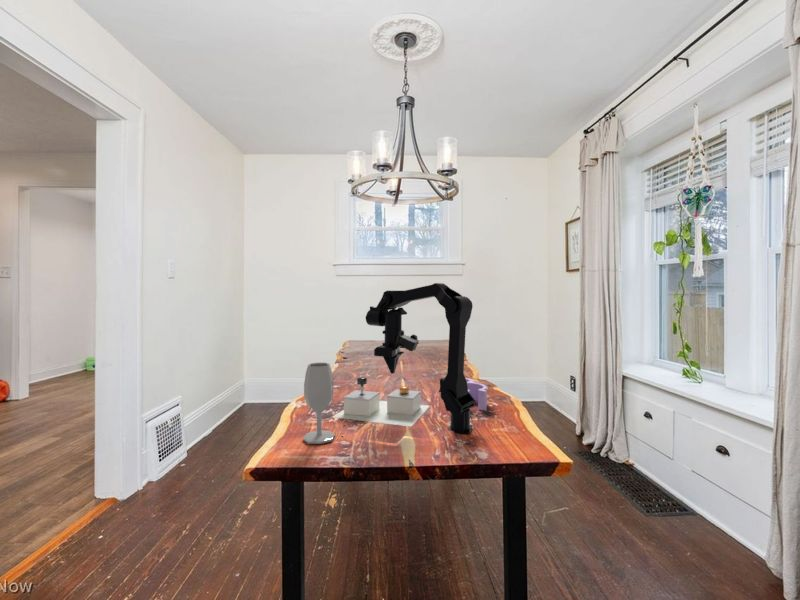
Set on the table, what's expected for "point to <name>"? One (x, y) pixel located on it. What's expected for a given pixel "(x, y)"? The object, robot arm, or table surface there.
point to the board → (387, 416)
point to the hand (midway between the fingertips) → (392, 373)
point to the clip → (478, 393)
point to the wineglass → (318, 398)
